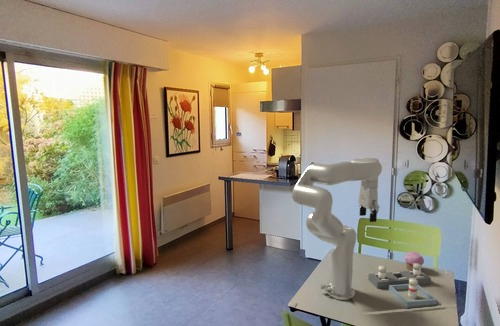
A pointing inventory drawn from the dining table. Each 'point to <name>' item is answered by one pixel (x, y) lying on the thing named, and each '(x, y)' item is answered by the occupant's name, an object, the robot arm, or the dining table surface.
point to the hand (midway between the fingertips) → (367, 218)
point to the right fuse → (416, 269)
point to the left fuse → (382, 272)
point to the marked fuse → (412, 288)
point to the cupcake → (413, 259)
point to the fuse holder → (397, 279)
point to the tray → (428, 301)
